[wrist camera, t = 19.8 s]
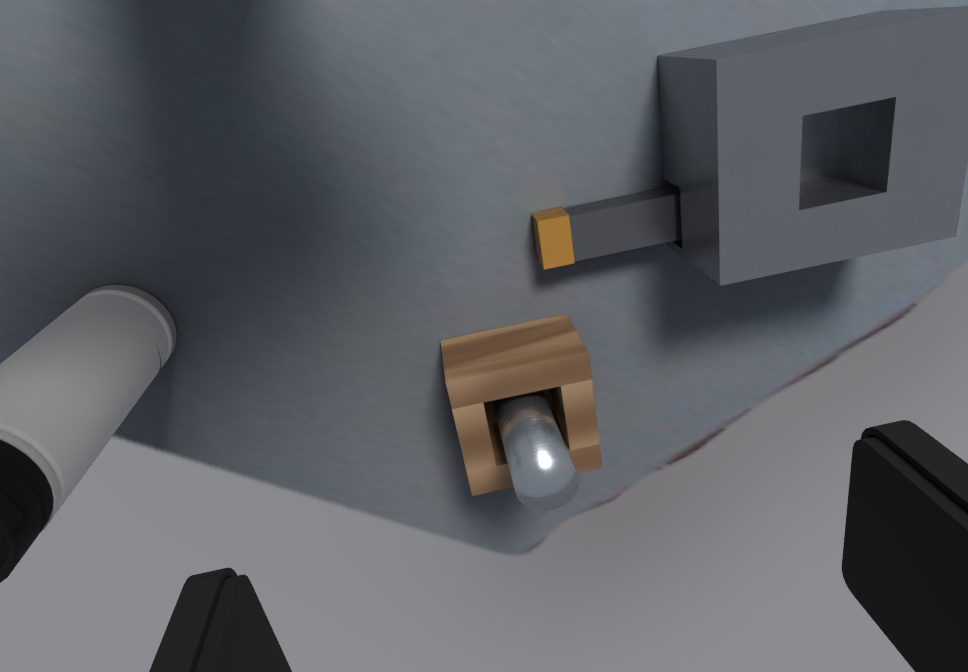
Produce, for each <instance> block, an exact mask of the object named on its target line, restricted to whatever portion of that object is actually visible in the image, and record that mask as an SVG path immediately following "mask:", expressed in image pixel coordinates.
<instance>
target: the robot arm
mask: <svg viewBox="0 0 968 672" xmlns="http://www.w3.org/2000/svg"><path fill="white" fill-rule="evenodd" d="M842 573H843V577H844V580H845V583H846V584H847V586H848V588H849V590H850V591H851V593H852V594H853V595H854V597H855V598H856V599H857V600H858V601H859V603H860V604H861V605H862V606H863V608H864V609H865V610H866V611H867V613H868V614H869V615H870V616H871V618H872V619H873V620H874V621H875V622H876V624H877V625H878V626H879V627H880V629H881V630H882V631H883V632H884V634H885V635H886V636H887V637H888V639H889V640H890V641H891V642H892V644H893V645H894V646H895V647H896V649H897V650H898V651H899V652H900V653H901V655H902V656H903V657H904V658H905V660H906V661H907V662H908V663H909V665H910V666H911V667H912V668H913V669H914V671H915V672H968V464H967V463H966V462H965V461H963V460H962V459H961V458H959V457H958V456H957V455H955V454H954V453H953V452H951V451H950V450H949V449H947V448H946V447H944V446H943V445H942V444H941V443H939V442H938V441H937V440H935V439H934V438H933V437H931V436H930V435H929V434H928V433H926V432H925V431H924V430H922V429H921V428H919V427H918V426H917V425H915V424H914V423H912V422H910V421H906V420H902V421H897V422H893V423H888V424H884V425H879V426H874V427H870V428H867V429H865V430H864V432H863V433H862V436H861V440H857V441H856V442H855V443H854V446H853V452H852V462H851V473H850V484H849V494H848V505H847V516H846V527H845V538H844V548H843V559H842ZM149 672H292V671H291V669H290V666H289V665H288V662H287V660H286V658H285V656H284V654H283V651H282V649H281V647H280V645H279V643H278V640H277V638H276V636H275V634H274V632H273V629H272V627H271V625H270V623H269V621H268V619H267V616H266V614H265V612H264V610H263V608H262V606H261V603H260V601H259V599H258V597H257V595H256V593H255V591H254V588H253V586H252V584H251V582H250V580H249V579H248V577H247V576H246V575H239V576H237V574H236V573H235V571H234V570H233V569H231V568H224V569H220V570H215V571H210V572H206V573H201V574H197V575H192V576H190V577H189V578H188V579H187V580H186V582H185V584H184V586H183V588H182V591H181V593H180V596H179V598H178V601H177V603H176V606H175V609H174V611H173V614H172V616H171V619H170V621H169V623H168V626H167V629H166V631H165V634H164V636H163V639H162V641H161V644H160V646H159V649H158V651H157V654H156V656H155V659H154V661H153V664H152V667H151V669H150V671H149Z"/></svg>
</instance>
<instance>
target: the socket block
mask: <svg viewBox="0 0 968 672" xmlns="http://www.w3.org/2000/svg"><path fill="white" fill-rule="evenodd" d="M658 71H659V90H660V109H661V128H662V147H663V166H664V180H666V181H668V182H670V183H672V184H673V185H675V186H677V187H679V188H680V205H681V228H682V239H681V240H676V241H671V242H668V246H670V247H671V248H672V249H673V250H675V251H676V252H677V253H678V254H680V255H681V256H682V257H684V258H685V259H686V260H687V261H689V262H690V263H691V264H693V265H694V266H695V267H696V268H698V269H699V270H700V271H702V272H703V273H704V274H705V275H707V276H708V277H709V278H710V279H712V280H713V281H714V282H716V283H717V284H718V285H719V286H722V285H727V284H732V283H737V282H741V281H746V280H751V279H756V278H760V277H765V276H770V275H775V274H779V273H784V272H789V271H794V270H798V269H803V268H808V267H813V266H818V265H822V264H827V263H832V262H837V261H841V260H846V259H851V258H856V257H860V256H865V255H870V254H875V253H879V252H884V251H889V250H894V249H898V248H903V247H908V246H913V245H917V244H922V243H927V242H932V241H936V240H941V239H946V238H951V237H955V236H956V233H957V227H958V220H959V213H960V207H961V200H962V194H963V187H964V180H965V174H966V167H967V161H968V6H962V7H944V8H926V9H908V10H890V11H879V12H874V13H869V14H864V15H859V16H854V17H849V18H844V19H839V20H834V21H829V22H824V23H819V24H814V25H809V26H804V27H799V28H794V29H789V30H784V31H779V32H774V33H769V34H764V35H759V36H754V37H749V38H744V39H739V40H734V41H729V42H724V43H719V44H714V45H709V46H704V47H699V48H694V49H689V50H684V51H679V52H673V53H668V54H663V55H658Z"/></svg>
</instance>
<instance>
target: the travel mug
mask: <svg viewBox="0 0 968 672" xmlns="http://www.w3.org/2000/svg"><path fill="white" fill-rule="evenodd" d="M176 340H177V332H176V326H175V323H174V320H173V318H172V316H171V315H170V313H169V311H168V310H167V309H166V308H165V306H164V305H163V304H162V303H161V302H160V301H158V300H157V299H156V298H155V297H153V296H152V295H150V294H148V293H147V292H145V291H142V290H140V289H137V288H135V287H130V286H126V285H107V286H102V287H99V288H96V289H94V290H92V291H90V292H89V293H87V294H86V295H85V296H83V297H82V298H81V299H80V300H78V301H77V302H76V303H75V304H73V305H72V306H71V307H70V308H69V309H67V310H66V311H65V312H64V313H62V314H61V315H60V316H59V317H57V318H56V319H55V320H54V321H53V322H51V323H50V324H49V325H48V326H46V327H45V328H44V329H43V330H41V331H40V332H39V333H38V334H36V335H35V336H34V337H33V338H32V339H30V340H29V341H28V342H27V343H25V344H24V345H23V346H22V347H20V348H19V349H18V350H17V351H16V352H14V353H13V354H12V355H11V356H9V357H8V358H7V359H6V360H4V361H3V362H2V363H1V364H0V582H2V581H3V580H4V579H6V578H7V577H8V576H9V574H10V573H11V571H12V570H13V569H14V567H15V566H16V565H17V563H18V562H19V561H20V559H21V558H22V557H23V555H24V554H25V553H26V551H27V550H28V549H29V547H30V546H31V544H32V543H33V541H34V540H35V539H36V538H37V536H38V535H39V533H40V532H42V531H43V530H44V529H45V528H46V526H47V525H48V523H49V522H50V521H51V519H52V518H53V516H54V515H55V514H56V512H57V511H58V510H59V508H60V507H61V506H62V504H63V503H64V501H65V500H66V499H67V497H68V496H69V495H70V493H71V492H72V490H73V489H74V488H75V486H76V485H77V484H78V482H79V481H80V479H81V478H82V477H83V475H84V474H85V473H86V471H87V470H88V468H89V467H90V466H91V464H92V463H93V462H94V460H95V459H96V457H97V456H98V455H99V453H100V452H101V451H102V449H103V448H104V446H105V445H106V444H107V442H108V441H109V440H110V438H111V437H112V436H113V434H114V433H115V431H116V430H117V429H118V427H119V426H120V425H121V423H122V422H123V420H124V419H125V418H126V416H127V415H128V414H129V412H130V411H131V409H132V408H133V407H134V405H135V404H136V403H137V401H138V400H139V398H140V397H141V396H142V394H143V393H144V392H145V390H146V389H147V387H148V386H149V385H150V383H151V382H152V381H153V379H154V378H155V376H156V375H157V374H158V372H159V371H160V370H161V368H162V367H163V365H164V364H165V363H166V361H167V360H168V359H169V357H170V356H171V354H172V353H173V351H174V348H175V346H176Z"/></svg>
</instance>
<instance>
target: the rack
mask: <svg viewBox="0 0 968 672" xmlns="http://www.w3.org/2000/svg"><path fill="white" fill-rule="evenodd" d="M440 342H441V350H442V358H443V366H444V374H445V382H446V386H447V390H448V395H449V399H450V403H451V408H452V412H453V416H454V420H455V425H456V429H457V433H458V437H459V442H460V446H461V450H462V455H463V459H464V463H465V467H466V472H467V476H468V480H469V485H470V489H471V493H472V496H475V495H480V494H485V493H489V492H494V491H498V490H503V489H508V488H512V487H514V485H513V481H512V477H511V473H510V469H509V466H508V462H507V458H506V454H505V450H504V446H503V442H502V438H501V434H500V430H499V427H498V423H497V419H496V415H495V411H494V407H493V403H492V401H493V400H498V399H502V398H507V397H512V396H517V395H521V394H526V393H531V392H535V391H540V390H543V392H544V394H545V397H546V399H547V402H548V404H549V407H550V409H551V412H552V414H553V417H554V419H555V422H556V424H557V427H558V429H559V431H560V434H561V436H562V439H563V441H564V444H565V446H566V449H567V451H568V454H569V456H570V459H571V461H572V464H573V466H574V468H575V471H576V473H581V472H586V471H590V470H595V469H600V468H602V461H601V452H600V444H599V435H598V427H597V418H596V410H595V401H594V393H593V384H592V376H591V367H590V359H589V351H588V350H587V348H586V346H585V345H584V343H583V341H582V340H581V338H580V336H579V335H578V333H577V331H576V329H575V328H574V326H573V324H572V323H571V321H570V319H569V318H568V316H567V314H564V315H559V316H554V317H549V318H545V319H540V320H535V321H530V322H525V323H521V324H516V325H511V326H506V327H502V328H497V329H492V330H487V331H483V332H478V333H473V334H468V335H464V336H459V337H454V338H449V339H445V340H440Z"/></svg>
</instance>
